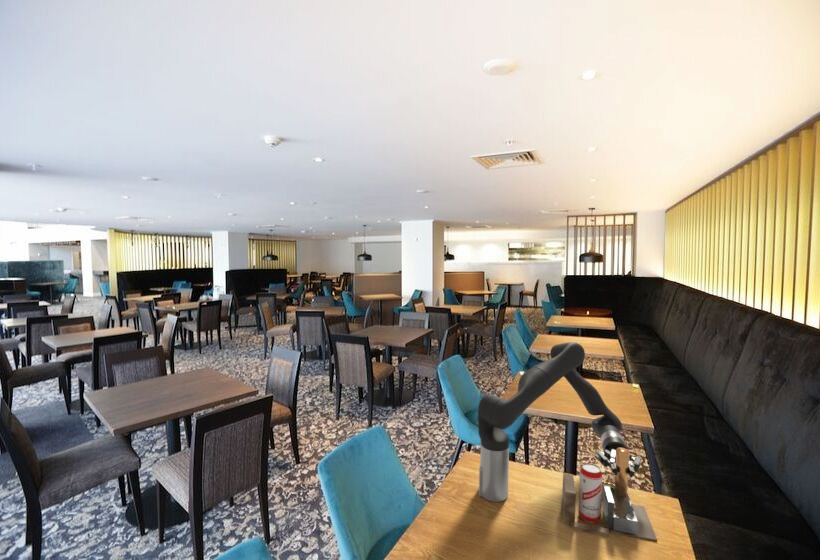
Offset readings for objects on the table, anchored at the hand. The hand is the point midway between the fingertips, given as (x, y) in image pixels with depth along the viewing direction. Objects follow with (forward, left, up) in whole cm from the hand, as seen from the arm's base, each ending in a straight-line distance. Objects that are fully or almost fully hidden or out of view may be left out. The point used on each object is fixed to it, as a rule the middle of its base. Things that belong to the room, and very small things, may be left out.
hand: (623, 473), depth 123 cm
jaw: (-2, -3, -12) cm, 13 cm away
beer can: (-10, -5, -13) cm, 17 cm away
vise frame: (-5, -4, -13) cm, 14 cm away
